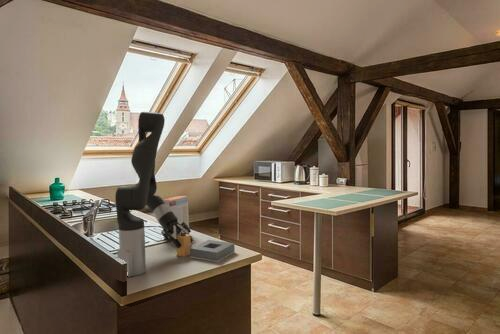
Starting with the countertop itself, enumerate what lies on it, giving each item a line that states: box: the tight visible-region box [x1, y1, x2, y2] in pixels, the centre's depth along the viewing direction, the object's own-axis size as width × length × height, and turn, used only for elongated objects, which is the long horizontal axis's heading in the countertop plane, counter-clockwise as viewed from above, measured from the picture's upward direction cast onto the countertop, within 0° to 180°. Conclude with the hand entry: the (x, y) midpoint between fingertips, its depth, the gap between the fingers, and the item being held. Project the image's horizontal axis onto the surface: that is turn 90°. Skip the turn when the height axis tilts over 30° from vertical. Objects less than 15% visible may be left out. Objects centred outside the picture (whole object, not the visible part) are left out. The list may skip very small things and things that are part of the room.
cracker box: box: [162, 195, 190, 240], centre depth 178 cm, size 14×6×21 cm, turn 149°
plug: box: [175, 232, 192, 257], centre depth 149 cm, size 4×4×10 cm
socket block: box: [189, 239, 235, 263], centre depth 148 cm, size 14×14×4 cm
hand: (186, 244), depth 149 cm, fingers open, 7 cm apart
